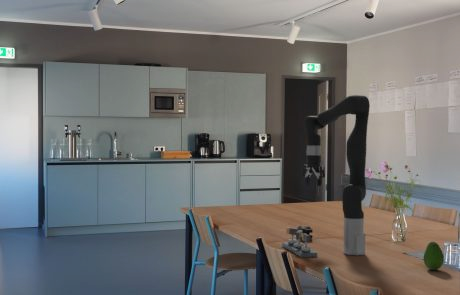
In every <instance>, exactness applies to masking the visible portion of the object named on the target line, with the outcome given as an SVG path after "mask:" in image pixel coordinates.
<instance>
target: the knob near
mask: <svg viewBox="0 0 460 295" xmlns="http://www.w3.org/2000/svg"><path fill="white" fill-rule="evenodd" d="M301 241H302V242H304V246H302V247H301V251H311V249H312V248H311V246H308V243H311V241H310V236H309V235H307V234H302V239H301Z"/></svg>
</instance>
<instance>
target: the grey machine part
mask: <svg viewBox="0 0 460 295" xmlns="http://www.w3.org/2000/svg"><path fill="white" fill-rule="evenodd" d="M296 228H297V229H299V230H302V234H307V235H309V236H310V242H312V241H313V234H312V233H313V232H314V231H313V229H312V228H311V226H304V225H299V226H297V227H296ZM300 240H302V237H301V238H300Z"/></svg>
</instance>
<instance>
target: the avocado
mask: <svg viewBox="0 0 460 295" xmlns="http://www.w3.org/2000/svg"><path fill="white" fill-rule="evenodd" d="M425 248H426V249H425V251H424V253H423V263H424V265H425V267H426V268H427V269H428V270H431V271H435V270H439V269H440V268H441V267H442V266H443V264H444V262H445V261H444V260H445V256H444V253H443V251H442V248H441V247H440V245H439V243H437V242H435V241H430V242H429V243H428V244H427V246H426V247H425Z"/></svg>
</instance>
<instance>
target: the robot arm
mask: <svg viewBox="0 0 460 295" xmlns="http://www.w3.org/2000/svg"><path fill="white" fill-rule="evenodd" d="M370 106H371V105H370V101H369V98H368V97H367V95H361V94H360V95H358V94H351V95H349V96H347V97H345V98H344V99H342V100H341V101H340V102H338V103H337V104H335V105H334V106H332V107H329V108H327V109H326V110H323V111H321V112H319V113H318V115H307V116H306V117H304V118H305V119H304V121H303V127H304V131H305V135H306V164H303V165H302V176H303V177H304V178H305V185H307V186H309V185H311V175H315V176H316V179H317V180H316V186H317V187H321V186H322V184H323V180H322V179H325V178H326V171H325V169H326V167H325V165H321V163H322V144H321V143H322V142H321V141H322V140H321V135H320V134H317V133H316V131H315V130H322V129H324V128H325V127H327V126H328V125H329V124H332V123H334V122H336V121H337V120H338V119H339V118H340V117H341V116H345V115H355V120H354V121H355V123H354V126H353V128H352V131H351V132H350V134H349V136H348V138H347V141H346V148H345V149H346V151H345V153H346V154H345V156H346V161H347V165H348V168H349V169H348V170H349V183H348V184H347V185H345V187H344V188H343V190H342V194H341V195H342V196H341V198H342V202H341V203H342V212H343V254H344V255H348V256H362V255H363V256H364V255H366V234H365V233H364V231H365V229H364V228H365V226H364V223H365V220H364V219H365V213H364V211H363V208H362V206H363V205H362V201H363V200H364V199H365V198H366V196H367V190H366V189H367V187H366V164H367V163H366V159H367V138H368V136H367V135H368V134H367V132H368V124H369V115H370V108H371V107H370Z"/></svg>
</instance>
